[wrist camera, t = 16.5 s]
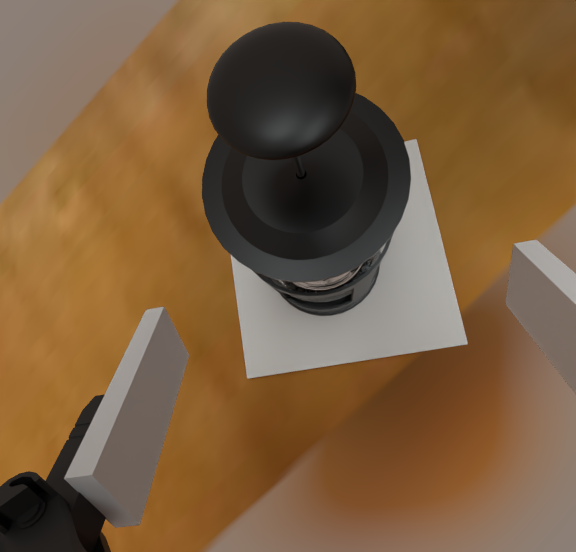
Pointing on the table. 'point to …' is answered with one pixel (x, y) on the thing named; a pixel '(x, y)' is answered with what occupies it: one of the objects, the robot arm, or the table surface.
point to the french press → (302, 168)
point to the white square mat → (370, 312)
